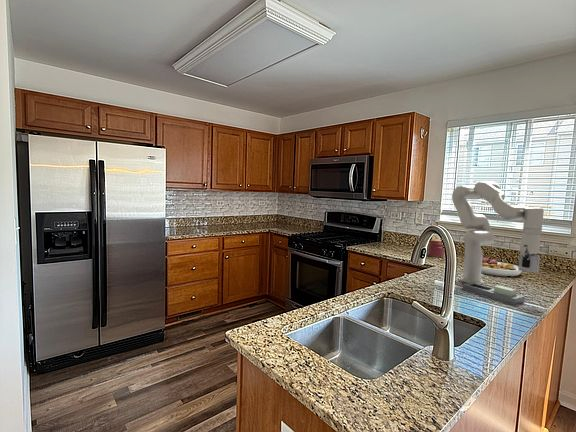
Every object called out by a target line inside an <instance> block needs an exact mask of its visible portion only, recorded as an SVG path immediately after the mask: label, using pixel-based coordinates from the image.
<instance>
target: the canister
mask: <svg viewBox="0 0 576 432" xmlns="http://www.w3.org/2000/svg"><path fill="white" fill-rule="evenodd" d="M440 239H441V238H440ZM440 239H439V236H438V235H436V236H435V237H432V240H431V241H430V240H429V241H430V243H428V245H429V246H428V245H427V256H428V257H430V256H433V257H432V258H437V257H442V258H445V248H444V249H443V245H442V242H441V240H440Z"/></svg>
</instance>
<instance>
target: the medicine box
mask: <svg viewBox="0 0 576 432" xmlns="http://www.w3.org/2000/svg"><path fill="white" fill-rule="evenodd" d="M527 256H528V255H527ZM518 259H519V260H518V270H521V271H522V272H528V273H534V274H538V273H539V271H540V260H541V255H539V254H537V255H532V254H531V255H530V259H529V260H530V267H529V268H526V267H522V254H521V253H519V258H518Z"/></svg>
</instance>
